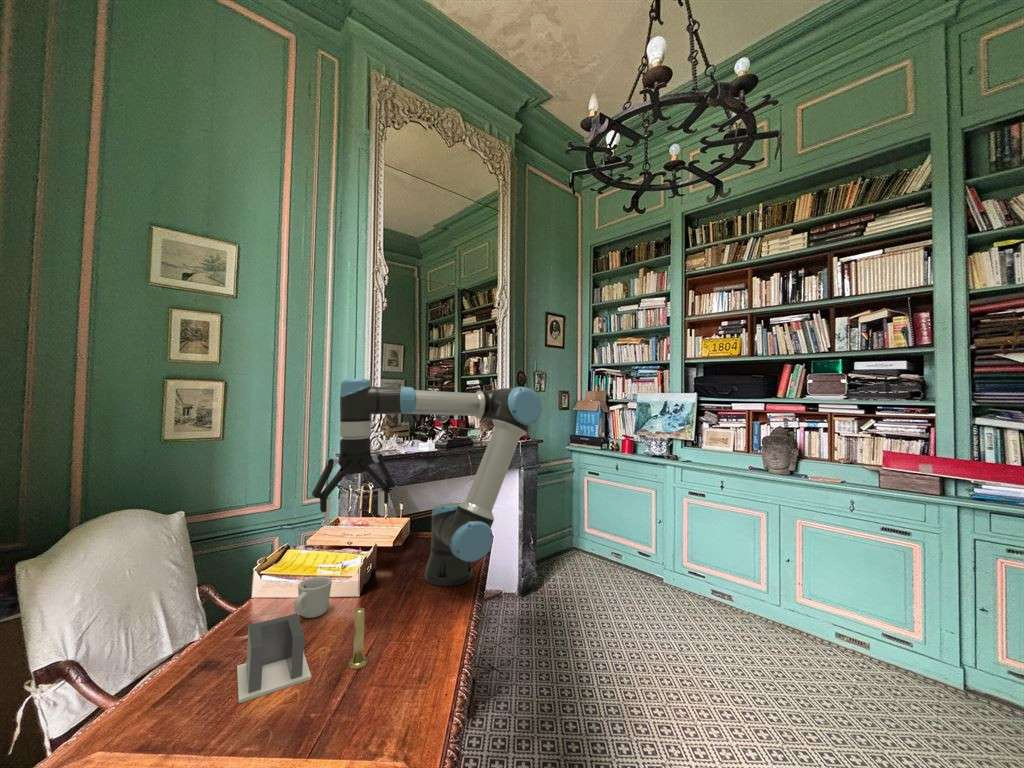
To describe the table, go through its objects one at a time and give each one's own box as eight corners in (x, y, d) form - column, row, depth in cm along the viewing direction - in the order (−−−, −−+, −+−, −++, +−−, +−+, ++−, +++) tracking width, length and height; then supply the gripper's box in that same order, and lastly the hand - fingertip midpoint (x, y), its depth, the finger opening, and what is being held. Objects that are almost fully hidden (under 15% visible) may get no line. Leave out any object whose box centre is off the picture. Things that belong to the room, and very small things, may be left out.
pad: (301, 649, 91) (302, 646, 91) (311, 679, 81) (311, 676, 81) (237, 668, 84) (237, 665, 84) (238, 703, 74) (238, 700, 74)
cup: (309, 629, 99) (310, 595, 100) (281, 625, 101) (282, 591, 102) (336, 608, 110) (338, 577, 111) (310, 604, 112) (312, 574, 112)
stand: (364, 656, 89) (366, 604, 90) (369, 665, 86) (370, 611, 87) (346, 662, 87) (349, 608, 87) (351, 671, 84) (353, 616, 85)
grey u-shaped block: (295, 651, 89) (296, 613, 90) (302, 675, 81) (304, 634, 82) (246, 665, 84) (248, 625, 85) (248, 693, 76) (250, 648, 77)
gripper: (396, 434, 118) (396, 508, 117) (300, 439, 103) (299, 525, 102) (406, 435, 112) (406, 514, 111) (305, 442, 97) (304, 532, 96)
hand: (355, 519), depth 106 cm, fingers open, 13 cm apart
